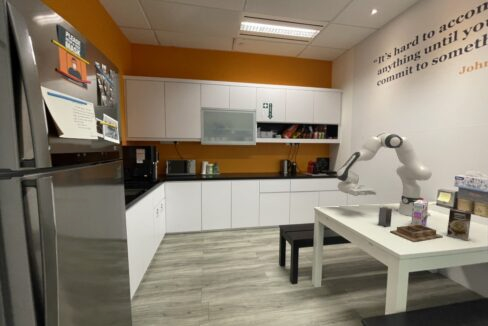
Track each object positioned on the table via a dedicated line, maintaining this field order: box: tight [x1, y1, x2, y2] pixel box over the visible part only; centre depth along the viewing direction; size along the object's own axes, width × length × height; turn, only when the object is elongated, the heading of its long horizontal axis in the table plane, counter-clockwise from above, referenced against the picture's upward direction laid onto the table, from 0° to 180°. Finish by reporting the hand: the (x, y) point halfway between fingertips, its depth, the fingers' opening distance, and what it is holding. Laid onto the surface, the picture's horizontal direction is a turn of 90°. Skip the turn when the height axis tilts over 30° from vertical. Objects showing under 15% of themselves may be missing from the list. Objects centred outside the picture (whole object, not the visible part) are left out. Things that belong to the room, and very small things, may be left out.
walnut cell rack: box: [389, 224, 444, 243], centre depth 130 cm, size 24×14×4 cm, turn 108°
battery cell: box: [377, 206, 393, 228], centre depth 144 cm, size 5×5×13 cm
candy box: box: [410, 200, 429, 226], centre depth 146 cm, size 14×6×16 cm, turn 129°
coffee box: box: [446, 208, 472, 241], centre depth 127 cm, size 9×6×16 cm
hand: (370, 193), depth 155 cm, fingers open, 8 cm apart
